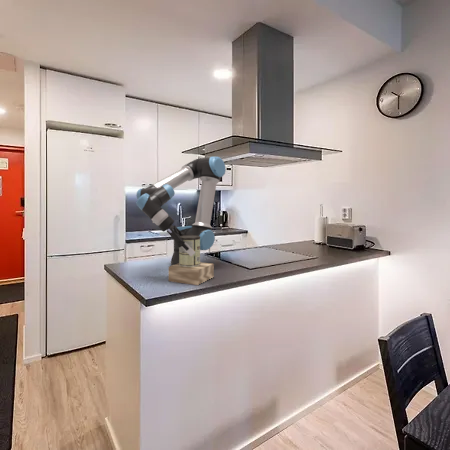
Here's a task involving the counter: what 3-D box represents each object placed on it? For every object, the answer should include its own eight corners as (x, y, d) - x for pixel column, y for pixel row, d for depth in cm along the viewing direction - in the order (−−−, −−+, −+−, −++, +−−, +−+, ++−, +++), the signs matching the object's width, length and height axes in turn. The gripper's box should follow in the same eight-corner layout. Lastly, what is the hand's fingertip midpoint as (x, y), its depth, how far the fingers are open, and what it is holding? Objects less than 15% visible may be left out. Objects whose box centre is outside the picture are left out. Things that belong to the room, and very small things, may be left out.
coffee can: (180, 262, 154) (180, 235, 153) (200, 263, 155) (200, 235, 153) (177, 267, 144) (177, 237, 143) (199, 267, 144) (199, 237, 143)
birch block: (186, 274, 160) (186, 260, 160) (213, 277, 154) (213, 263, 153) (168, 281, 146) (168, 266, 145) (198, 285, 139) (198, 270, 139)
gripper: (162, 224, 160) (191, 253, 161) (152, 228, 135) (186, 262, 137) (172, 214, 160) (201, 243, 161) (164, 216, 135) (198, 250, 136)
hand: (194, 252), depth 149 cm, fingers open, 13 cm apart
